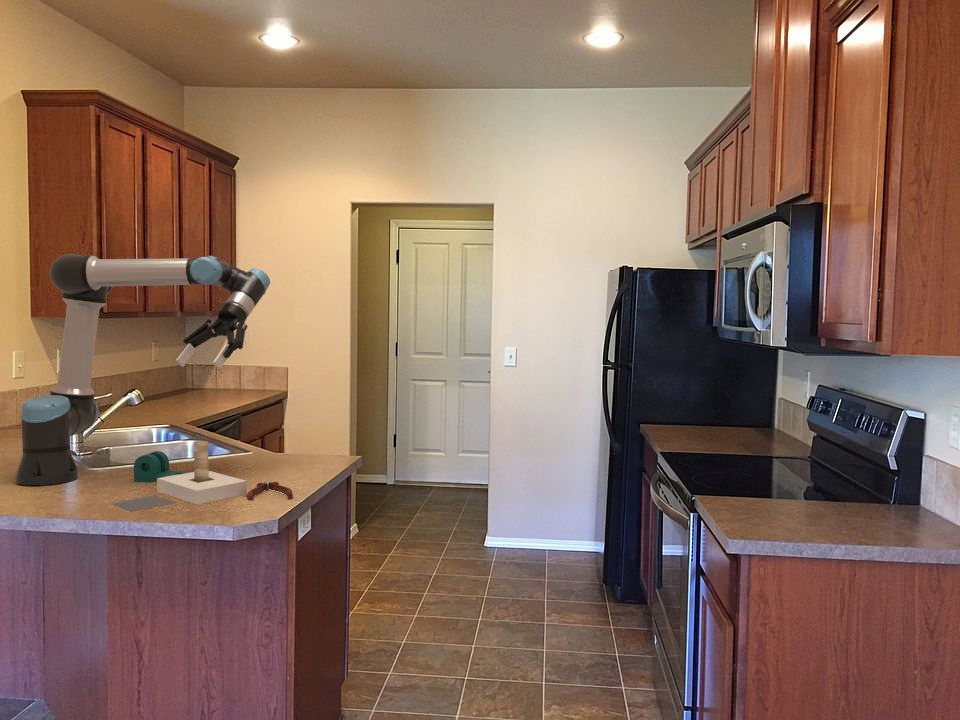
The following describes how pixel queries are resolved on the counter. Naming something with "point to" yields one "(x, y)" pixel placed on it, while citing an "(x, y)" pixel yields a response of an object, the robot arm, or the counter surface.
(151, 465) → the bracket
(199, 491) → the hole block
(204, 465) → the peg
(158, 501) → the mat
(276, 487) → the pliers
